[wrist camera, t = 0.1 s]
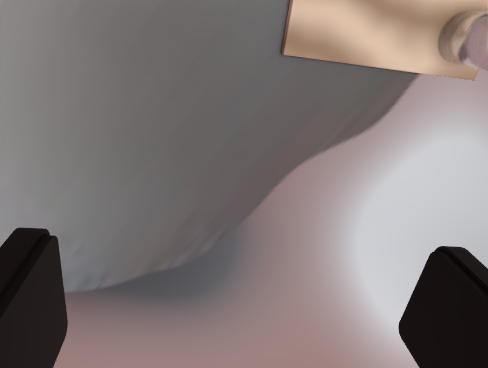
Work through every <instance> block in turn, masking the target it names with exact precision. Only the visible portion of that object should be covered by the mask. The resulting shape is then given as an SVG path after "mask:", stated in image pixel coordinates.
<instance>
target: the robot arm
mask: <svg viewBox="0 0 488 368" xmlns="http://www.w3.org/2000/svg"><path fill="white" fill-rule="evenodd" d="M67 323H68V322H67V312H66V305H65V295H64V287H63V279H62V270H61V262H60V253H59V245H58V239H57V237H56V236H50V234H49V231H48V230H47V229H39V228H17V229H15V230H14V231H13V233H12V234H11V235H10V236H9V237H8V239H7V240H6V241H5V242H4V243H3V245H2V246H1V247H0V368H53V366H54V364H55V361H56V359H57V356H58V354H59V352H60V349H61V346H62V344H63V341H64V339H65V336H66V332H67ZM399 334H400V336H401V338H402V340H403V342H404V343H405V345H406V346H407V348H408V350H409V351H410V353H411V355H412V356H413V358H414V360H415V361H416V363H417V364H418V366H419V367H420V368H488V269H487V268H486V267H485V266H484V265H483V264H482V263H481V262H480V261H479V260H478V259H476V258H475V257H474V256H473V255H472V254H471V253H470V252H469V251H468V250H466V249H465V248H462V247H448V246H441V247H438V248H437V249H436V250H435V251H434V252H432V253H431V254H430V256H429V258H428V260H427V262H426V264H425V267H424V269H423V271H422V274H421V276H420V278H419V280H418V282H417V284H416V287H415V289H414V291H413V293H412V295H411V298H410V300H409V302H408V304H407V307H406V309H405V311H404V314H403V316H402V318H401V320H400V322H399Z"/></svg>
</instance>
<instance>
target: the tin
mask: <svg viewBox="0 0 488 368" xmlns="http://www.w3.org/2000/svg"><path fill="white" fill-rule="evenodd" d="M438 49H439V53H440V55H441V56H442V58H443V59H444V60H446V61H448V62H452V63H456V64H461V65H465V66H470V67H474V68H479V69H484V70H488V11H464V12H461V13H458V14H456V15H455V16H453V17H452V18H451V19H450V20H449V21H448V22H447V23H446V24H445V25H444V27H443V29H442V30H441V33H440V35H439V40H438Z"/></svg>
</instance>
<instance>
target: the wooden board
mask: <svg viewBox="0 0 488 368" xmlns="http://www.w3.org/2000/svg"><path fill="white" fill-rule="evenodd" d="M464 11H488V0H290V5H289V11H288V17H287V22H286V28H285V34H284V40H283V46H282V51H281V53H282V54H283V55H290V56H297V57H304V58H312V59H319V60H327V61H334V62H341V63H349V64H356V65H363V66H371V67H378V68H386V69H393V70H400V71H408V72H415V73H422V74H430V75H437V76H445V77H452V78H459V79H467V80H475V78H476V75H477V73H478V71H479V68H474V67H470V66H465V65H461V64H456V63H452V62H448V61H446V60H444V59H443V58H442V56H441V55H440V53H439V49H438V40H439V35H440V33H441V30H442V29H443V27H444V25H445V24H446V23H447V22H448V21H449V20H450V19H451V18H452V17H453V16H455V15H456V14H458V13H461V12H464Z"/></svg>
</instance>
